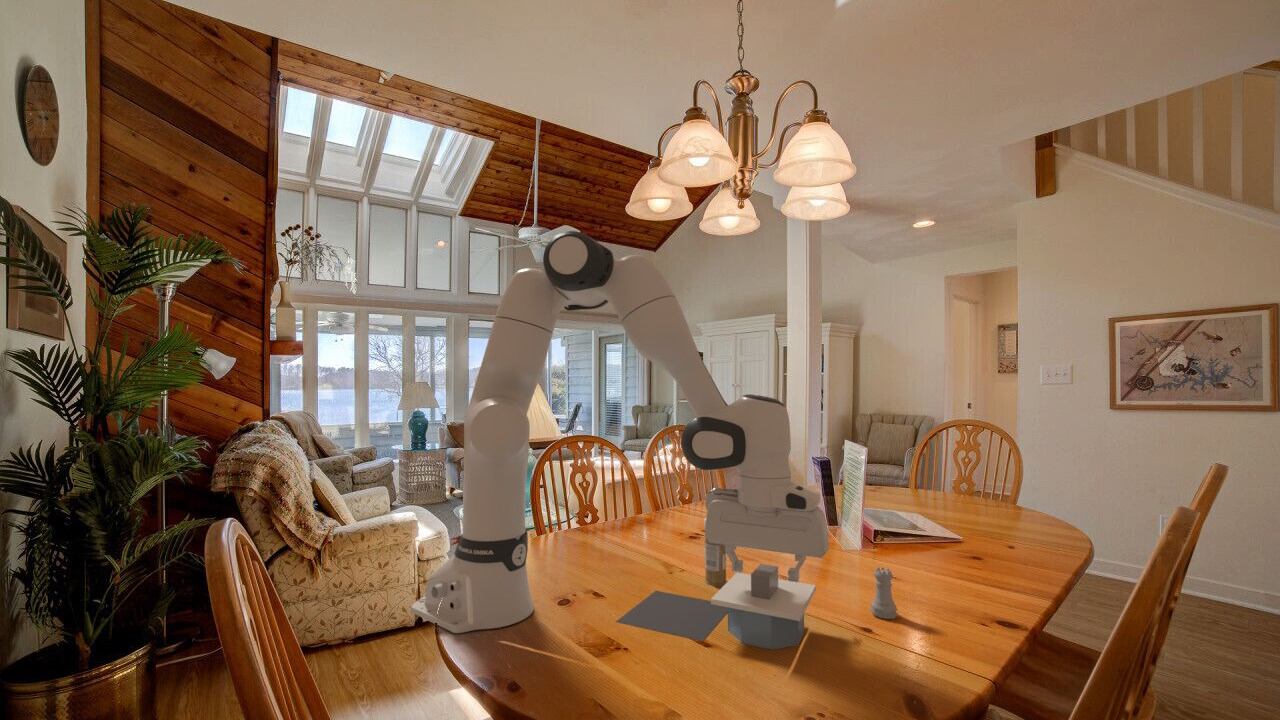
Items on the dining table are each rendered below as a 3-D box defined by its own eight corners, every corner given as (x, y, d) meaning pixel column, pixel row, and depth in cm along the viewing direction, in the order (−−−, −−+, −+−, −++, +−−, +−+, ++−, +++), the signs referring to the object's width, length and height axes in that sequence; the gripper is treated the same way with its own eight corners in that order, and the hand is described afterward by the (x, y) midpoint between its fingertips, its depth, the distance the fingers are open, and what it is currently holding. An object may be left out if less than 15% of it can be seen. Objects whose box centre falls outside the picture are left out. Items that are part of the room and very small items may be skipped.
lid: (710, 604, 88) (710, 576, 88) (736, 576, 100) (736, 553, 100) (800, 621, 81) (799, 591, 82) (815, 589, 94) (815, 564, 94)
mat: (615, 624, 94) (615, 621, 94) (655, 592, 109) (655, 590, 109) (703, 643, 87) (703, 641, 87) (733, 607, 101) (733, 605, 101)
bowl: (721, 640, 88) (720, 602, 88) (742, 614, 98) (741, 580, 99) (794, 657, 83) (793, 616, 83) (808, 627, 93) (807, 591, 93)
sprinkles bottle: (731, 585, 113) (730, 518, 113) (714, 589, 110) (714, 522, 111) (716, 578, 117) (716, 514, 117) (699, 582, 114) (699, 517, 115)
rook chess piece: (882, 621, 95) (881, 575, 96) (865, 611, 99) (864, 566, 100) (903, 618, 96) (902, 572, 97) (885, 608, 101) (885, 564, 101)
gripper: (698, 489, 94) (699, 572, 93) (823, 501, 84) (825, 592, 84) (711, 483, 99) (711, 561, 98) (829, 494, 90) (831, 579, 89)
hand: (764, 576), depth 91 cm, fingers open, 8 cm apart
